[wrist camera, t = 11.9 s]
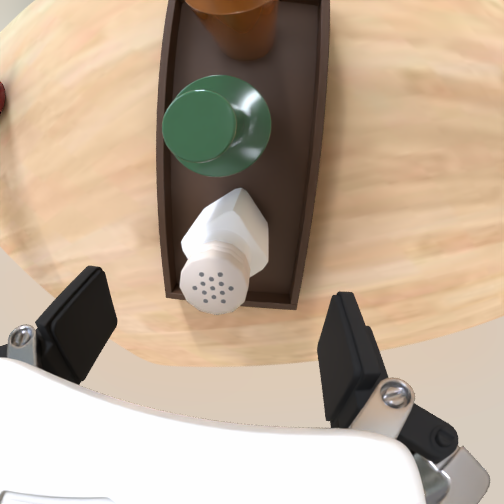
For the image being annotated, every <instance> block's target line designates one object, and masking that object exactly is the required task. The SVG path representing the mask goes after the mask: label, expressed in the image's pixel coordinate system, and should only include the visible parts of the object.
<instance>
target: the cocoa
mask: <svg viewBox="0 0 504 504" xmlns="http://www.w3.org/2000/svg"><path fill="white" fill-rule="evenodd" d="M4 103H5V89H4V86H3V84H2V83H1V82H0V114H1V112H2V109H3V107H4Z"/></svg>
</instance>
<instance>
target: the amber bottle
mask: <svg viewBox="0 0 504 504" xmlns="http://www.w3.org/2000/svg"><path fill="white" fill-rule="evenodd" d="M185 2H186V3H187V4H188V6H189V7H190V8H191V10H192V11H193V12H194V14H195V15H196V16H197V18H198V19H199V21H200V22H201V23H202V25H203V26H204V28H205V29H206V30H207V32H208V33H209V35H210V36H211V38H212V39H213V40H214V42H215V43H216V45H217V46H218V48H219V49H220V51H221V52H222V53H223V54H224V55H226V56H227V57H229V58H231V59H234V60H238V61H252V60H256V59H259V58H261V57H263V56H264V55H266V54H267V53H268V52H269V51H270V50H271V49H272V48H273V46H274V44H275V40H276V31H277V21H278V11H279V0H185Z"/></svg>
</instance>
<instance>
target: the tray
mask: <svg viewBox="0 0 504 504" xmlns="http://www.w3.org/2000/svg"><path fill="white" fill-rule="evenodd" d="M329 31H330V0H279V11H278V21H277V31H276V40H275V44H274V46H273V48H272V49H271V50H270V51H269V52H268V53H267V54H266V55H264V56H263V57H261V58H259V59H256V60H252V61H238V60H234V59H231V58H229V57H227V56H226V55H224V54H223V53H222V52H221V51H220V49H219V48H218V46H217V45H216V43H215V42H214V40H213V39H212V38H211V36H210V35H209V33H208V32H207V30H206V29H205V28H204V26H203V25H202V23H201V22H200V21H199V19H198V18H197V16H196V15H195V14H194V12H193V11H192V10H191V8H190V7H189V6H188V4H187V3H186V2H185V0H169V1H168V7H167V13H166V19H165V26H164V34H163V42H162V50H161V60H160V71H159V85H158V102H157V131H156V171H157V201H158V219H159V234H160V246H161V257H162V267H163V276H164V284H165V293H166V298H172V299H180V300H186V299H185V297H184V295H183V293H182V291H181V289H180V277H181V271H182V269H183V267H184V265H185V264H186V262H187V260H188V258H187V257H186V255H185V254H184V252H183V250H182V244H181V241H182V239H183V238H184V236H185V235H186V233H187V232H188V230H189V229H190V228H191V226H192V225H193V223H194V222H195V220H196V219H197V218H198V216H199V215H200V213H201V212H202V211H203V209H204V208H206V207H207V206H209V205H210V204H212V203H213V202H215V201H217V200H218V199H220V198H221V197H223V196H224V195H226V194H228V193H229V192H231V191H233V190H234V189H237V188H243V189H244V190H246V191H247V192H248V193H249V195H250V196H251V198H252V200H253V201H254V203H255V204H256V206H257V207H258V209H259V210H260V212H261V213H262V215H263V217H264V218H265V220H266V221H267V223H268V263H267V264H266V266H265V267H264V268H263V269H262V270H261V271H259V272H258V273H256V274H255V275H253V276H251V277H250V278H249V287H248V291H247V295H246V298H245V302H244V303H243V304H241V305H240V306H248V307H260V308H273V309H288V310H296V309H297V303H298V298H299V293H300V288H301V282H302V277H303V271H304V266H305V260H306V254H307V248H308V242H309V236H310V229H311V223H312V216H313V209H314V202H315V195H316V187H317V180H318V172H319V163H320V155H321V146H322V136H323V126H324V115H325V103H326V90H327V75H328V57H329ZM212 75H228V76H233V77H237V78H239V79H242V80H244V81H246V82H248V83H249V84H251V85H252V86H253V87H254V88H256V89H257V90H258V91H259V93H260V94H261V95H262V96H263V98H264V99H265V101H266V103H267V105H268V108H269V111H270V114H271V134H270V138H269V142H268V144H267V146H266V148H265V150H264V152H263V153H262V155H261V156H260V157H259V158H258V160H256V161H255V162H254V163H253V164H252V165H251V166H249V167H248V168H247V169H245V170H243V171H241V172H239V173H236V174H234V175H230V176H225V177H209V176H204V175H200V174H198V173H195V172H193V171H191V170H189V169H188V168H187V167H185V166H184V165H183V164H182V163H180V162H179V160H178V159H177V158H176V157H175V156H174V154H173V153H172V152H171V151H170V150H169V148H168V147H167V145H166V143H165V141H164V138H163V134H162V121H163V117H164V114H165V112H166V110H167V108H168V107H169V105H170V104H171V103H172V102H173V100H174V99H175V98H176V96H177V95H178V94H179V93H180V92H181V90H183V89H184V88H185V87H186V86H187V85H189V84H190V83H192V82H194V81H196V80H198V79H200V78H203V77H207V76H212Z"/></svg>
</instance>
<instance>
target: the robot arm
mask: <svg viewBox="0 0 504 504" xmlns="http://www.w3.org/2000/svg"><path fill="white" fill-rule="evenodd" d="M35 323H36V325H37V327H38V328H37V329H36V330H35V329H34V327H33V326H31V325H27V324H26V325H21V326H19V327H17V328H15V329H14V330H13V331H12V332H11V334H10V335H9V338H8V344H6V345H3V346H0V504H478V503H479V502H480V500H481V499H482V498H483V496H484V495H485V493H486V492H487V490H488V488H489V485H490V476H489V474H488V473H487V471H486V470H485V469H484V468H483V467H482V466H481V465H480V463H479V462H478V461H477V460H476V459H475V458H474V457H473V456H472V455H471V454H470V453H469V451H468V450H466V448H465V447H464V446H462V447H459V446H458V435H457V432H456V430H455V429H454V428H453V427H452V426H451V425H450V424H448V423H446V422H444V421H443V420H441V419H440V418H438V417H436V416H435V415H433V414H431V413H429V412H428V411H426V410H425V409H423V408H421V407H419V406H418V405H416V404H415V403H414V401H415V393H414V391H413V389H412V387H411V386H410V385H409V384H408V383H407V382H405V381H404V380H401V379H399V378H388V375H387V372H386V369H385V366H384V363H383V360H382V357H381V354H380V351H379V349H378V346H377V343H376V340H375V338H374V335H373V332H372V330H371V328H370V327H369V326H365V323H364V320H363V317H362V315H361V312H360V309H359V307H358V304H357V302H356V299H355V297H354V294H353V293H352V292H338V293H337V295H333V296H332V298H331V302H330V305H329V309H328V312H327V316H326V319H325V323H324V326H323V329H322V333H321V336H320V339H319V342H318V347H317V353H318V360H319V367H320V375H321V383H322V390H323V399H324V408H325V417H326V421H330V423H331V428H304V427H302V428H301V427H277V426H262V425H250V424H239V423H231V422H222V421H215V420H209V419H203V418H196V417H191V416H185V415H180V414H176V413H171V412H166V411H162V410H157V409H154V408H150V407H146V406H142V405H138V404H135V403H131V402H127V401H124V400H121V399H117V398H115V397H111V396H108V395H105V394H102V393H99V392H97V391H94V390H91V389H88V388H85V387H83V386H80V385H79V384H80V382H81V381H84V380H85V378H86V376H87V375H88V373H89V371H90V369H91V367H92V366H93V364H94V362H95V361H96V359H97V357H98V356H99V354H100V352H101V350H102V349H103V347H104V346H105V344H106V342H107V341H108V339H109V338H110V336H111V334H112V333H113V331H114V329H115V328H116V326H117V317H116V313H115V310H114V306H113V303H112V299H111V295H110V291H109V287H108V283H107V279H106V275H105V272H104V271H103V270H102V269H101V268H100V267H96V266H88V267H86V268H85V269H84V270H83V271H82V272H81V273H80V274H79V275H78V276H77V277H76V278H75V279H74V280H73V281H72V282H71V283H70V284H69V285H68V286H67V288H66V289H65V290H64V291H63V292H62V293H61V294H60V295H59V296H58V297H57V298H56V299H55V300H54V301H53V302H52V304H51V305H50V306H49V307H48V308H47V309H46V310H45V311H44V312H43V314H42V315H41V316H40V317H39V318H38V320H37V321H36V322H35ZM424 494H425V495H424Z"/></svg>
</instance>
